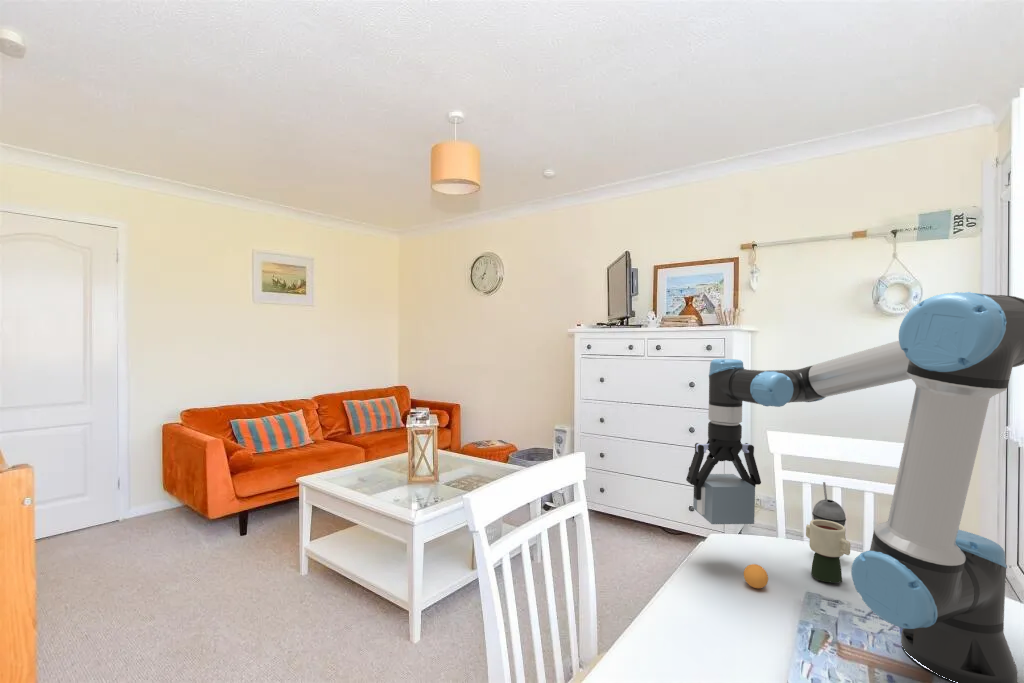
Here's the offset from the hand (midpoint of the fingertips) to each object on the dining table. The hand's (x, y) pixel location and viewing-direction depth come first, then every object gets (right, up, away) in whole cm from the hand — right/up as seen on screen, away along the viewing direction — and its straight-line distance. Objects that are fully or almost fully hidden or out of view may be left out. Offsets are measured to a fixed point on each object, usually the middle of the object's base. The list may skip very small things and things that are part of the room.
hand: (722, 512), depth 119 cm
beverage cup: (+29, -14, +6) cm, 33 cm away
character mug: (+23, -15, -4) cm, 27 cm away
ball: (+4, -12, -8) cm, 15 cm away
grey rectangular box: (0, -1, 0) cm, 1 cm away
